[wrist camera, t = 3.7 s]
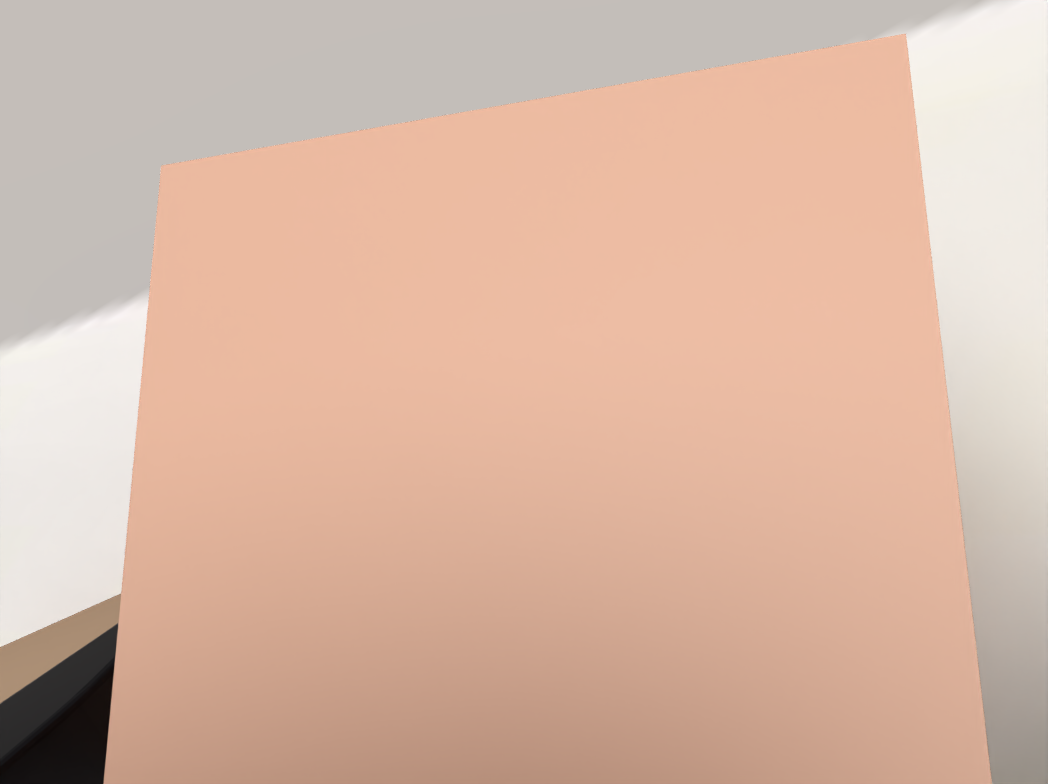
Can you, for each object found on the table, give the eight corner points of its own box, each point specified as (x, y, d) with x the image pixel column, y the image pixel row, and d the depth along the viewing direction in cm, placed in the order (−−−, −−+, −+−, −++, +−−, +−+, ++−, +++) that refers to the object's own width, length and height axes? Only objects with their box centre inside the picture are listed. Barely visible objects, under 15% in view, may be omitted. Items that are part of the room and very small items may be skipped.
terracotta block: (887, 735, 15) (1021, 1039, 4) (585, 727, 17) (90, 935, 6) (859, 431, 16) (905, 33, 5) (580, 448, 18) (161, 165, 7)
